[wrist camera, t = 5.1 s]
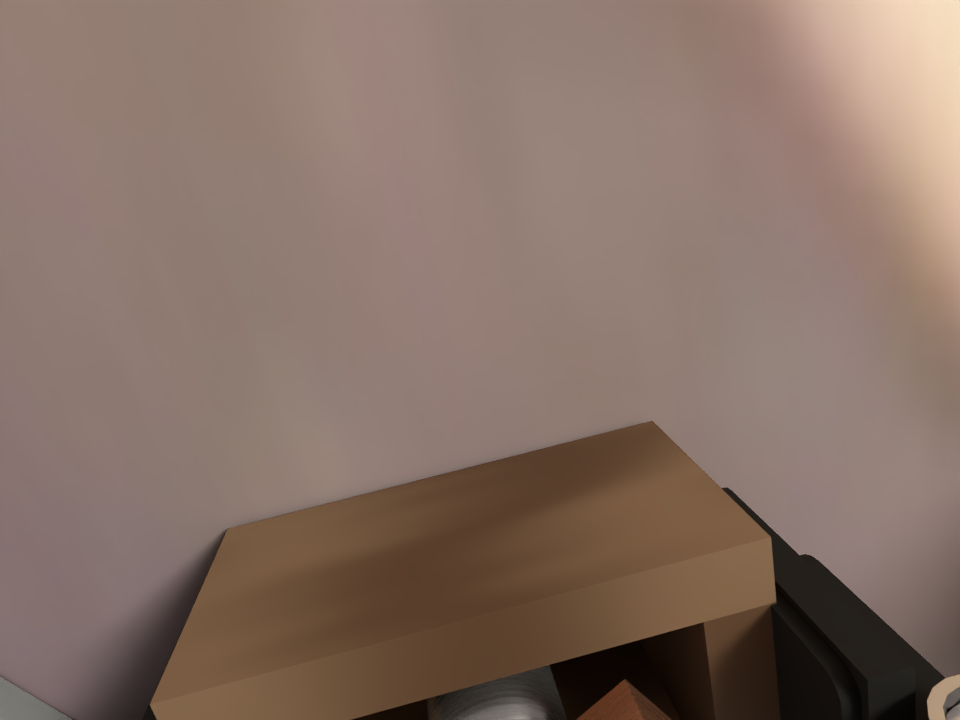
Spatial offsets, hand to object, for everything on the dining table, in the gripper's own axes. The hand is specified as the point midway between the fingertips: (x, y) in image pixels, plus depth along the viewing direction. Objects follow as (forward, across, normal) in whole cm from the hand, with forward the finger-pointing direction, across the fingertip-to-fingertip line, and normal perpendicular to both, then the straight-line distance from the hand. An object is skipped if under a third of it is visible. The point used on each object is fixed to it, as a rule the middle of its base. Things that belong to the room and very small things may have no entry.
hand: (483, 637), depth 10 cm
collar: (+1, 0, 0) cm, 1 cm away
